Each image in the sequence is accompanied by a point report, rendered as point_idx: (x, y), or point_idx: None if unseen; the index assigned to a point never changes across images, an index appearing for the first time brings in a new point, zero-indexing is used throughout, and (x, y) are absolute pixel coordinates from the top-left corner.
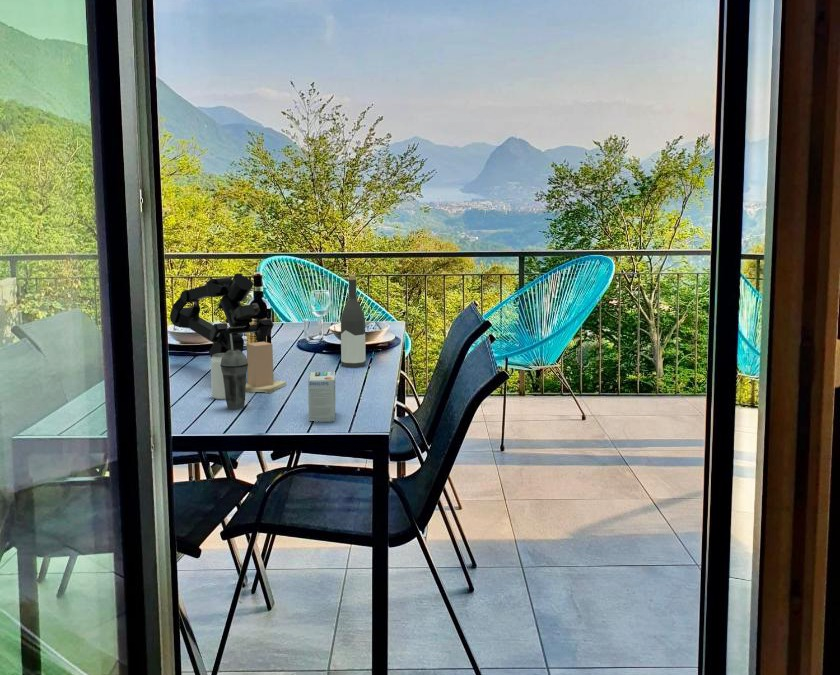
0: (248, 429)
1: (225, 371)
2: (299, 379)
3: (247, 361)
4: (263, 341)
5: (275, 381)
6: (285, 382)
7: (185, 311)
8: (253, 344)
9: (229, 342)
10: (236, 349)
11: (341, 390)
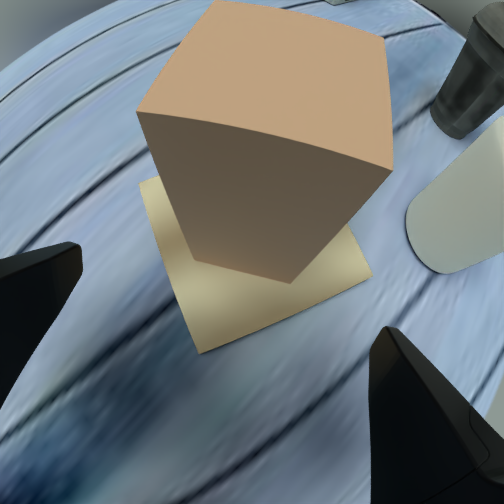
0: (459, 43)
1: None
2: (32, 240)
3: (478, 13)
4: (9, 273)
5: (163, 218)
6: (145, 182)
7: None
8: (360, 74)
9: (479, 422)
10: (400, 347)
11: (124, 47)
